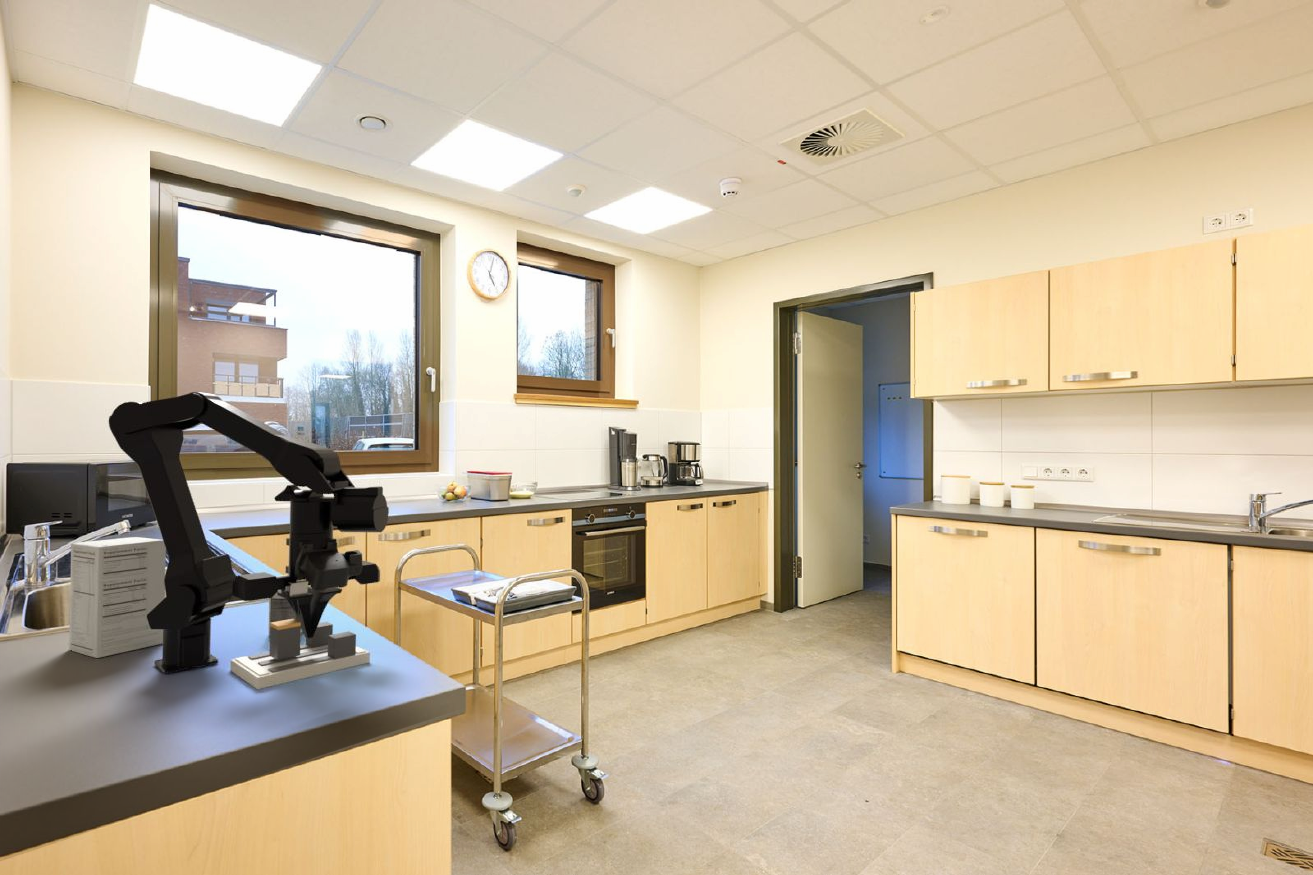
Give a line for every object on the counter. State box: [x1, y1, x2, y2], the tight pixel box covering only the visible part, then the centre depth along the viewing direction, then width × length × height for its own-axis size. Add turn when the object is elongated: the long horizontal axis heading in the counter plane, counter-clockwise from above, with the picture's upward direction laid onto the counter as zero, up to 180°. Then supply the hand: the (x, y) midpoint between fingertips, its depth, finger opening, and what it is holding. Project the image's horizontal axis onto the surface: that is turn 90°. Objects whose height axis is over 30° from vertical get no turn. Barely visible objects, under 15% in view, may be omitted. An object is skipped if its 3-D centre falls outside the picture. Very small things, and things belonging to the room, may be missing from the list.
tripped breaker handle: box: [269, 619, 302, 660], centre depth 94 cm, size 3×3×5 cm
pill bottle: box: [268, 574, 303, 636], centre depth 112 cm, size 5×5×10 cm
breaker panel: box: [229, 621, 371, 690], centre depth 95 cm, size 11×15×4 cm
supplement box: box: [68, 536, 167, 659], centre depth 104 cm, size 10×9×17 cm
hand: (308, 637), depth 96 cm, fingers closed
